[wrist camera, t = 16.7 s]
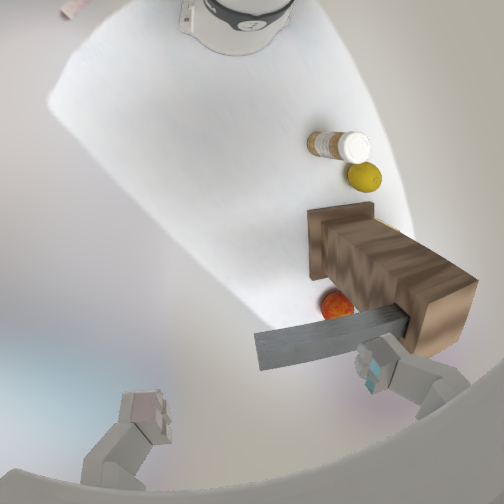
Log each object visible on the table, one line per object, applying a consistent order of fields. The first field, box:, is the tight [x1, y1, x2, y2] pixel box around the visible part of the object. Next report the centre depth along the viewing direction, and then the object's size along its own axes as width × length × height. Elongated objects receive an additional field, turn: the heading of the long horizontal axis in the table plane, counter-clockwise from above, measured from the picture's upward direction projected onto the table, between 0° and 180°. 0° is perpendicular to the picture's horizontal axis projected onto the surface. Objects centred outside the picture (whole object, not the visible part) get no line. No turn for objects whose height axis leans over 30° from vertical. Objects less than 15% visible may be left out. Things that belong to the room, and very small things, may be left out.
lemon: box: [348, 162, 382, 193], centre depth 45 cm, size 6×6×8 cm
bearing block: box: [307, 202, 478, 358], centre depth 40 cm, size 14×14×30 cm
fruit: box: [321, 292, 354, 320], centre depth 56 cm, size 7×7×8 cm
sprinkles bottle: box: [307, 131, 371, 164], centre depth 40 cm, size 5×5×13 cm
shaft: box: [254, 303, 411, 371], centre depth 30 cm, size 3×24×3 cm, turn 97°
